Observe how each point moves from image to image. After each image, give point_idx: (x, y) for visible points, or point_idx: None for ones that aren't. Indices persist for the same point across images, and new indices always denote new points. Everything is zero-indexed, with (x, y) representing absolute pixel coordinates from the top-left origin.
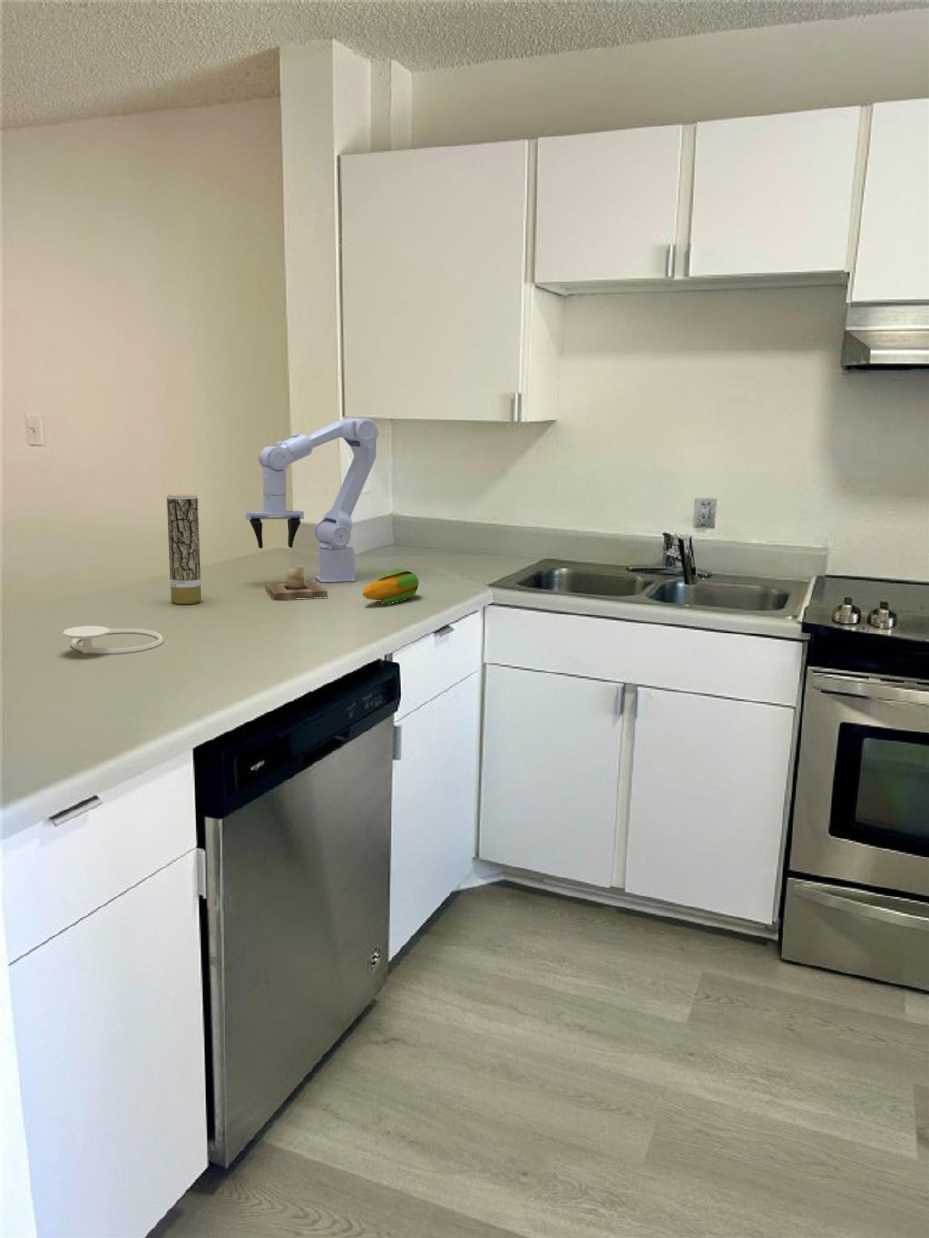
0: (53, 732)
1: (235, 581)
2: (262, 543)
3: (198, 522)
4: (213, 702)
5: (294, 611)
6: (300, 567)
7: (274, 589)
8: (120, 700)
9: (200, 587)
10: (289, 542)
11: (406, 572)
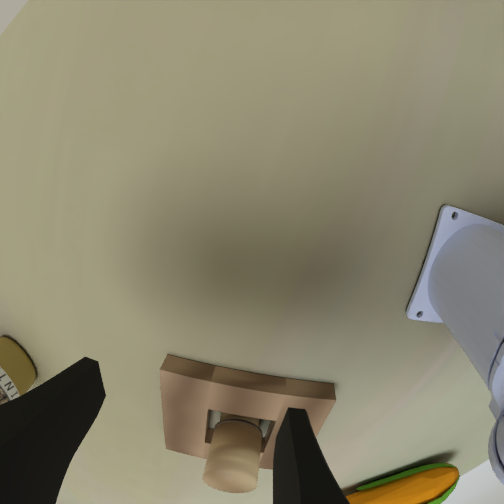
0: (57, 500)
1: (103, 151)
2: (93, 420)
3: None
4: None
5: (191, 483)
6: (239, 490)
7: (173, 427)
8: (68, 501)
9: (22, 392)
10: (277, 457)
11: (448, 493)
